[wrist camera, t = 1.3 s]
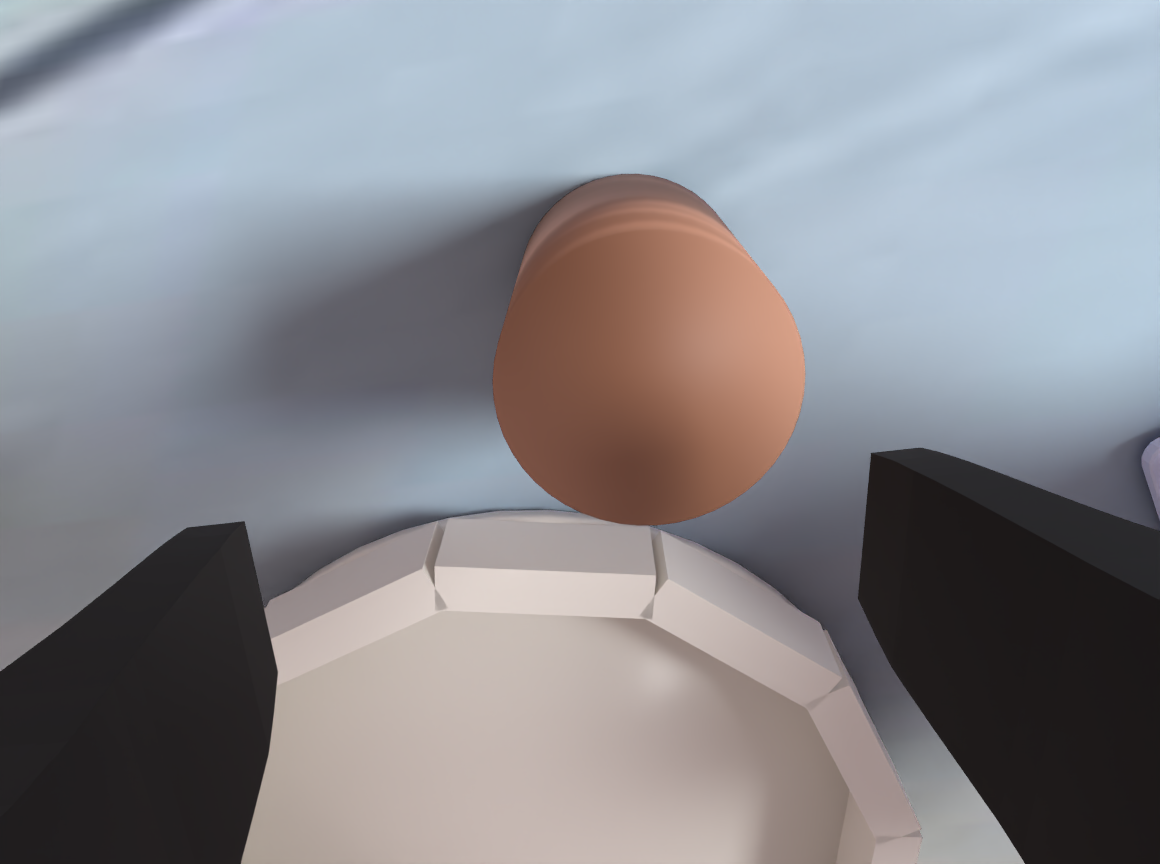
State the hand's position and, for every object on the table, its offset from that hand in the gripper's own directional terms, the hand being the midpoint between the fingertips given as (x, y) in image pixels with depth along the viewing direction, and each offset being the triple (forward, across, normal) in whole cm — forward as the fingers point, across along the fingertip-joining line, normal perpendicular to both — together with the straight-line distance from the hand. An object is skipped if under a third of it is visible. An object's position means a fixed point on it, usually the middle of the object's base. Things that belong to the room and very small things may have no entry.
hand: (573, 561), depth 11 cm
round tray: (+9, 0, +13) cm, 15 cm away
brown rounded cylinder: (+9, -2, -1) cm, 9 cm away
